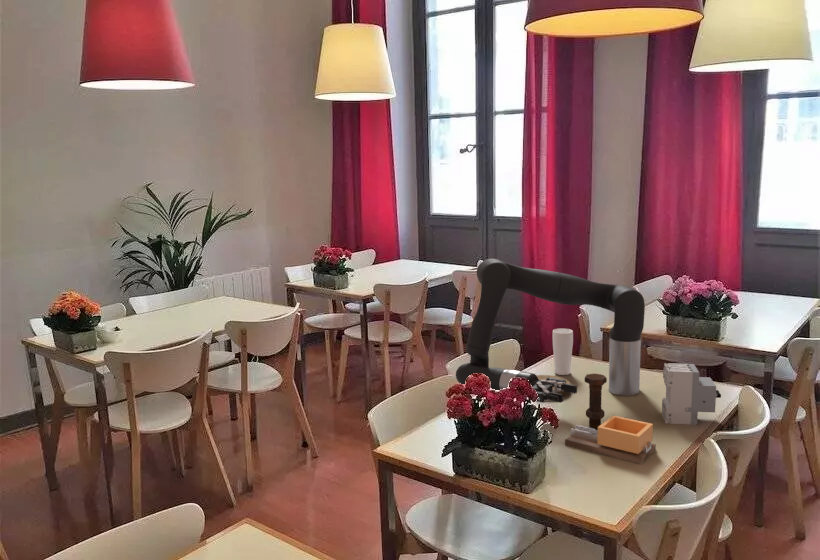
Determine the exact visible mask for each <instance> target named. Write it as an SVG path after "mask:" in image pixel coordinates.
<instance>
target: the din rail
mask: <svg viewBox="0 0 820 560" xmlns="http://www.w3.org/2000/svg"><path fill="white" fill-rule="evenodd" d="M570 435H572V436H576V437H580V438H584V439H588V440H592V441H596V442H598V429H594V428H589V426H585V425H579V424H575V428H572V427H571V428H570ZM651 443H652V442H650V441H648V442H647V446H646V445H644V446H643V450H642V451H641V452H642V453H647V452H648V451H649V450H650V449H651Z"/></svg>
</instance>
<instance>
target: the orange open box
mask: <svg viewBox="0 0 820 560" xmlns="http://www.w3.org/2000/svg"><path fill="white" fill-rule="evenodd" d="M653 435H654V423H650V422H646V421H640V420H636V419H632V418H627V417H622V416H619V415H612V416H610V417H609V418H608V419H606V420H605V421H604V422H601V425H600V426H599V427H598V443H597V444H599V445H603V446H608V447H612V448H616V449H620V450H624V451H628V452H632V453H636V454H639V453H640V452H641V451H642V450H643V446H644V445H646V446H647V442H648V441H650V442H651V443H652V442H653V438H654V437H653Z"/></svg>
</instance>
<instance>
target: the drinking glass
mask: <svg viewBox="0 0 820 560" xmlns="http://www.w3.org/2000/svg"><path fill="white" fill-rule="evenodd" d="M573 345H574V331H573V329H570V328H554V329H552V351H553V360H554V361H553V363H554V365H553V367H554V373H555V374H556V375H559V376H569V375H570V374H571V372H572V371H571V366H572V356H573Z"/></svg>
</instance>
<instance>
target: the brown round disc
mask: <svg viewBox="0 0 820 560" xmlns="http://www.w3.org/2000/svg"><path fill="white" fill-rule="evenodd" d="M535 375H536V376H537V377H538V379H539V380H547V377H551V378H557V379H563V380H566V384H570V385H572V384H571V382H570V380H568V379H567V378H564V377H561V376H557V375H549V374H535ZM560 386H561V385H560ZM553 389H554V387H553ZM557 393H559V394H562V395H563V399H565V398H567V397H568V396H569V395H570V394H571V393H569V392H564V391H558V392H557ZM539 399H540V398H539Z"/></svg>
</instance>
